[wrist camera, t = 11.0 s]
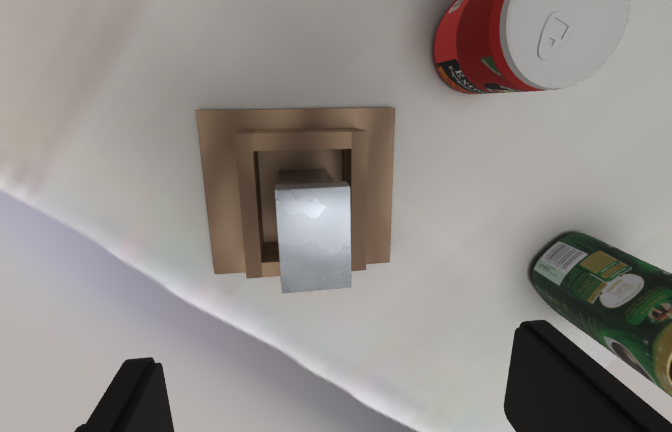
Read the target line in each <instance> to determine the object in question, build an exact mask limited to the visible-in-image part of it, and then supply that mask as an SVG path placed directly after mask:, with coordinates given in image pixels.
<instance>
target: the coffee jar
mask: <svg viewBox="0 0 672 432" xmlns="http://www.w3.org/2000/svg"><path fill="white" fill-rule="evenodd" d="M532 280H533V283H534V285H535V287H536V289H537V290H538V292H539V293H540V295H541V296H542V297H543V299H544V300H545V301H546V302H547V303H548V304H549V305H550V307H552V308H553V309H554V310H555V311H556V312H557V313H558V314H560V315H561V316H562V317H564V318H565V319H566V320H568V321H569V322H571V323H572V324H573V325H575V326H576V327H578V328H579V329H580V330H582V331H583V332H585V333H586V334H587V335H589V336H590V337H592V338H593V339H594V340H596V341H597V342H598V343H600V344H601V345H603V346H604V347H605V348H607V349H608V350H609V351H611V352H612V353H613V354H615V355H616V356H617V357H619V358H620V359H621V360H623V361H624V362H626V363H627V364H628V365H630V366H631V367H632V368H634V369H635V370H637V371H638V372H639V373H641V374H642V375H643V376H645V377H646V378H647V379H649V380H650V381H651V382H653V383H654V384H655V385H657V386H658V387H659V388H661V389H662V390H663V391H665V392H666V393H667V394H669V395H670V396H671V397H672V274H671V273H669V272H667V271H664V270H662V269H660V268H658V267H655V266H653V265H651V264H649V263H647V262H644V261H642V260H640V259H638V258H636V257H634V256H632V255H629V254H627V253H625V252H623V251H621V250H619V249H617V248H615V247H613V246H611V245H608V244H606V243H604V242H602V241H600V240H598V239H595V238H593V237H591V236H589V235H586V234H583V233H573V234H569V235H566V236H564V237H563V238H561V239H559V240H557V241H556V242H554V243H553V244H552V245H550V246H549V247H548V248H547V249H546V250H545V251H544V252H543V253H542V254H541V255H540V257H539V258H538V260H537V261H536V263H535V265H534V267H533V270H532Z"/></svg>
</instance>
